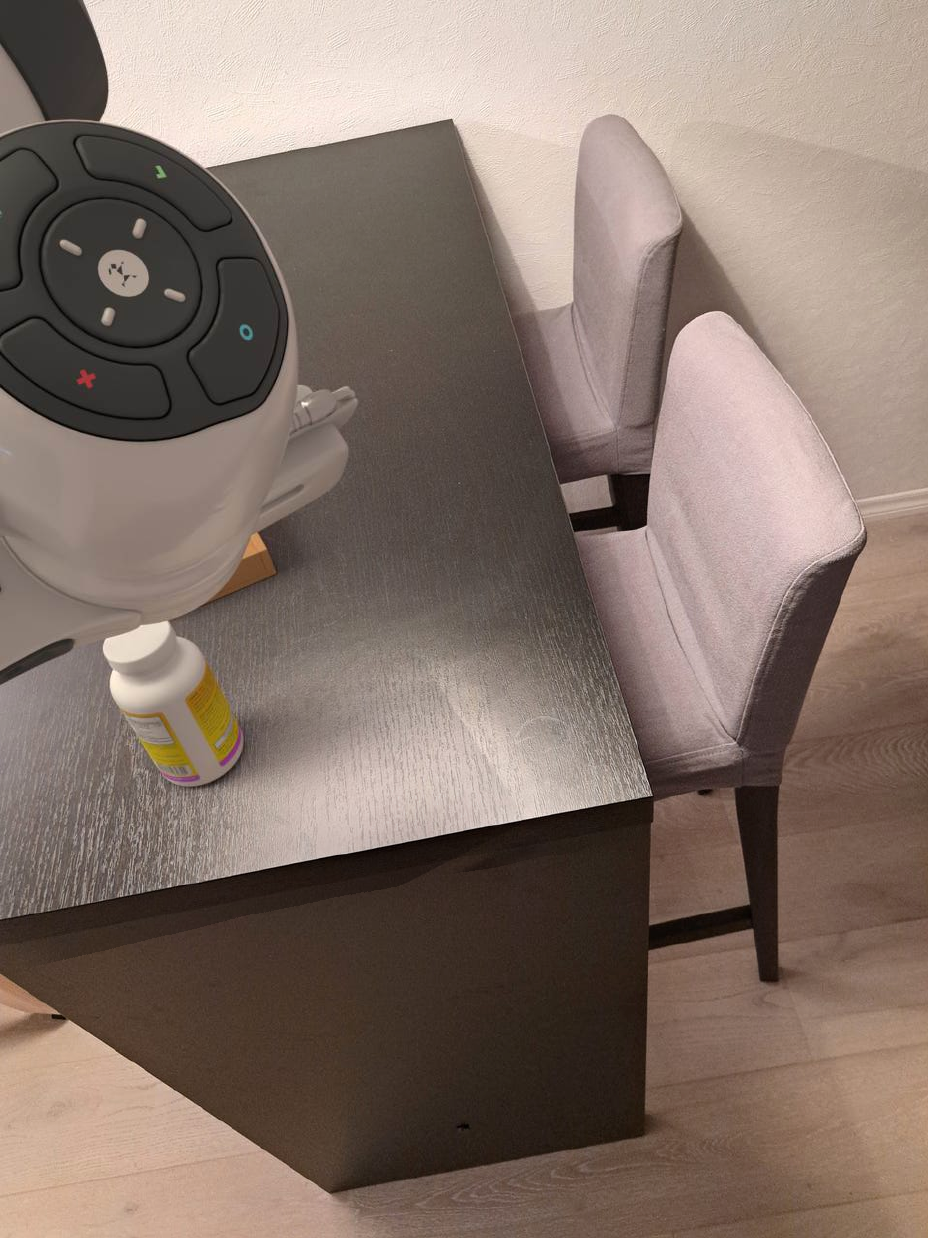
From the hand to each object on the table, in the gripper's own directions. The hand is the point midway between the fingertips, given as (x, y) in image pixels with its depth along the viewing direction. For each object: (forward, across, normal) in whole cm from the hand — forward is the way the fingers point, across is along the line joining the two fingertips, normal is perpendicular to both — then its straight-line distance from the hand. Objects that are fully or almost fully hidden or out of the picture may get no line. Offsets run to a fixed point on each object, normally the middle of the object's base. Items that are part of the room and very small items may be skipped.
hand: (135, 580), depth 47 cm
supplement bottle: (+27, 0, +9) cm, 28 cm away
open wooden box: (+42, -11, -6) cm, 43 cm away
